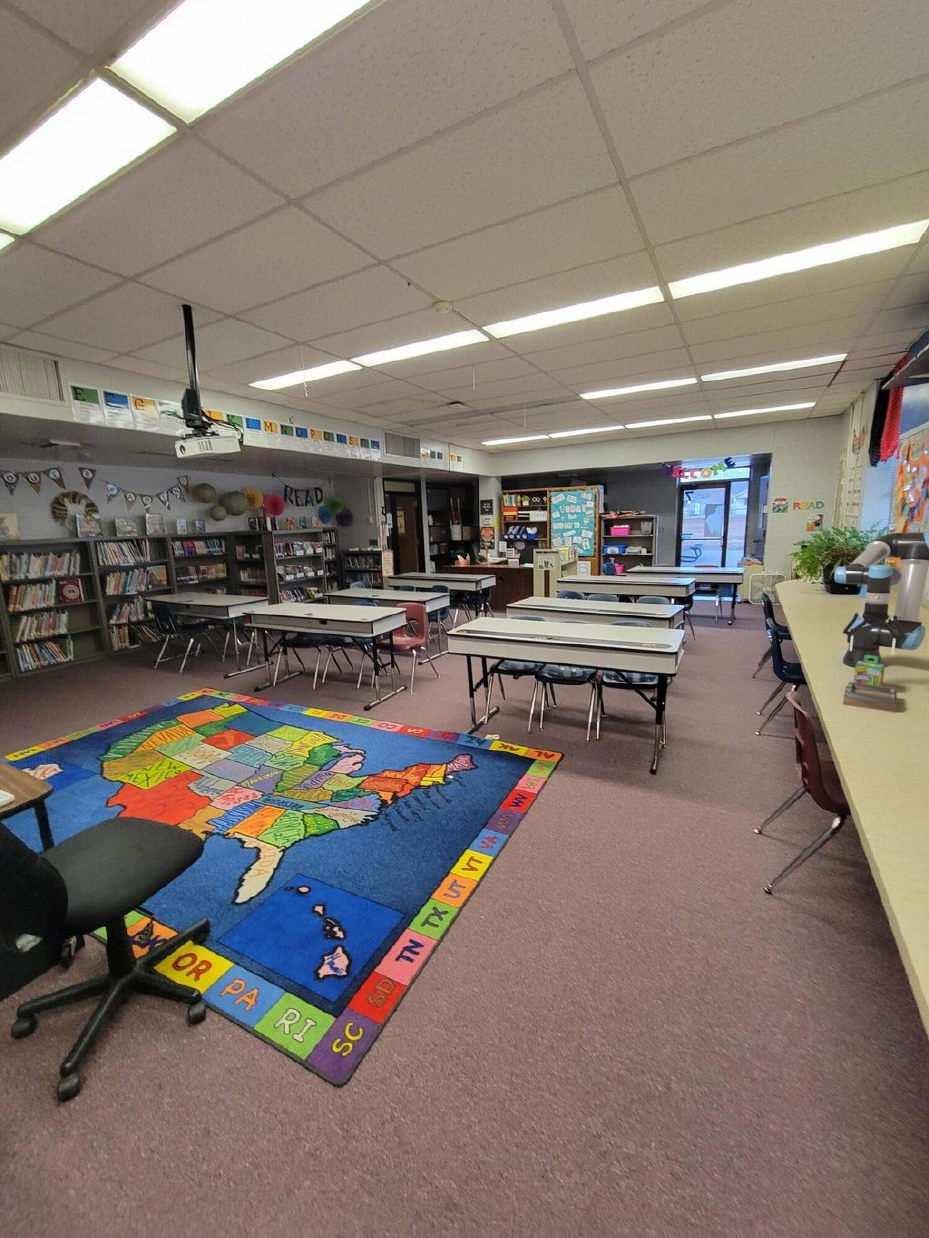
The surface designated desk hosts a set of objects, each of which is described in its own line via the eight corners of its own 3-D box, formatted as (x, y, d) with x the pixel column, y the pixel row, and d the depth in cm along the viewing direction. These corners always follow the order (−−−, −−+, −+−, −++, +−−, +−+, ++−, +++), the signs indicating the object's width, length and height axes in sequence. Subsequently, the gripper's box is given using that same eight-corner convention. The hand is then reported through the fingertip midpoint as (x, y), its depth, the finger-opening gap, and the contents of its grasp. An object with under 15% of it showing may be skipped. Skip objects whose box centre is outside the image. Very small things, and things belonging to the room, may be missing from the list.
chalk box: (852, 690, 210) (855, 656, 207) (855, 684, 217) (858, 651, 214) (880, 694, 204) (884, 660, 201) (882, 688, 210) (886, 655, 207)
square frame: (845, 692, 208) (846, 681, 207) (895, 699, 198) (896, 687, 197) (843, 704, 196) (844, 692, 195) (896, 712, 186) (897, 699, 185)
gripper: (838, 602, 208) (833, 650, 212) (918, 606, 192) (911, 658, 196) (839, 599, 214) (835, 646, 218) (917, 603, 198) (910, 654, 202)
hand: (871, 652), depth 207 cm, fingers open, 13 cm apart
